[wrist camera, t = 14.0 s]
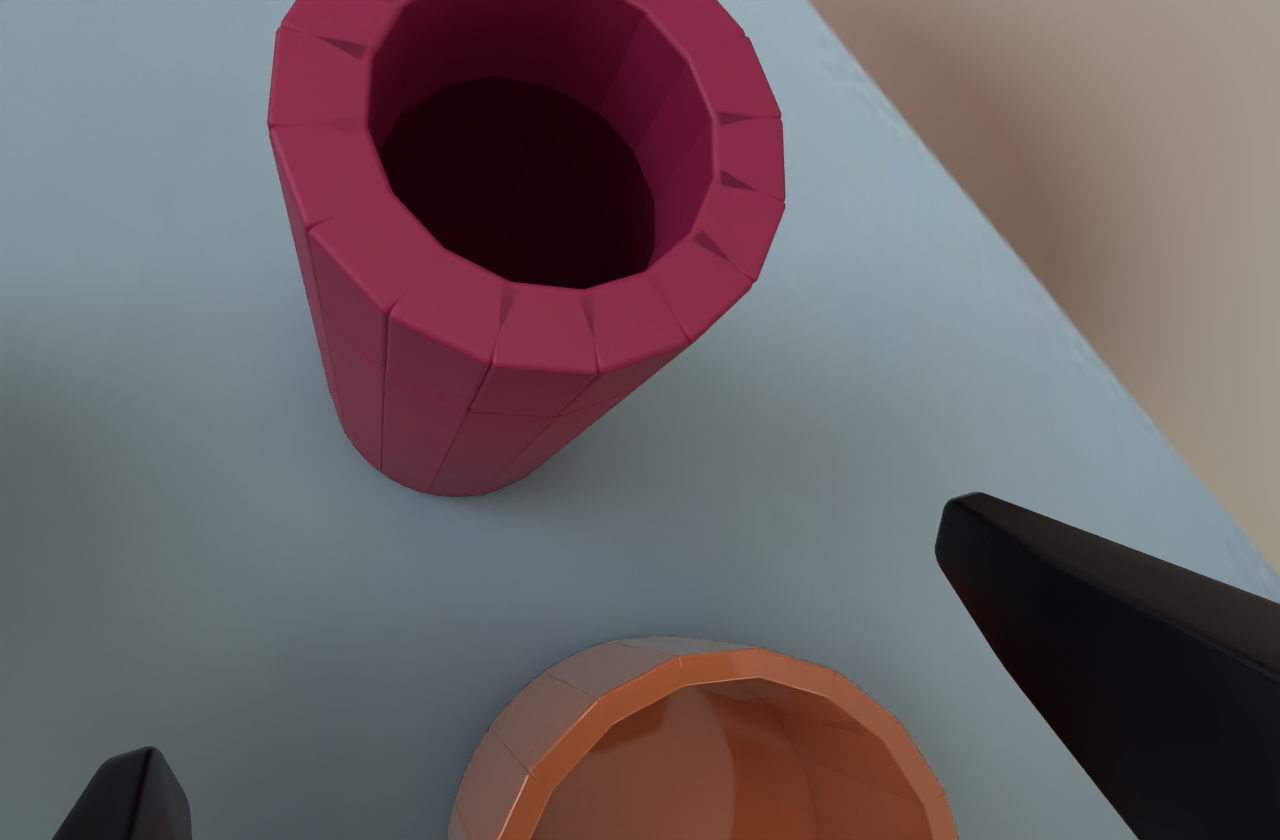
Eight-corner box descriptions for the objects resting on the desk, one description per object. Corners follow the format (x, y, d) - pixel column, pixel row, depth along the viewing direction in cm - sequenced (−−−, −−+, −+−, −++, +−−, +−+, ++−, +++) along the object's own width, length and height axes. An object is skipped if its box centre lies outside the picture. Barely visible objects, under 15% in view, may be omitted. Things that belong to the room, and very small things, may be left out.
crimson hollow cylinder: (616, 391, 24) (872, 173, 11) (449, 547, 21) (543, 485, 9) (463, 225, 23) (559, -184, 11) (276, 366, 21) (137, 50, 9)
